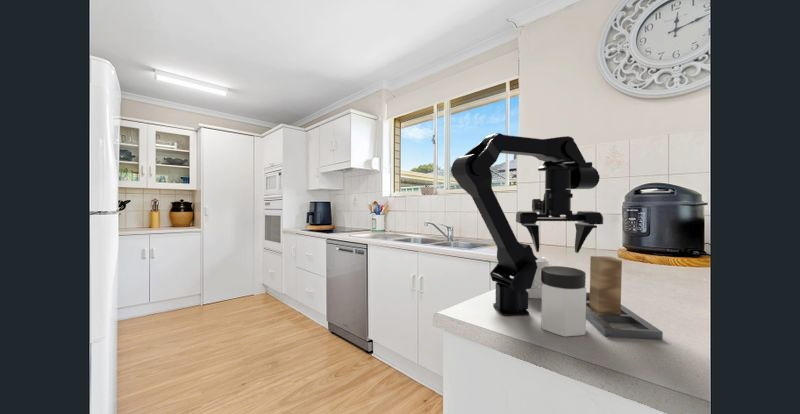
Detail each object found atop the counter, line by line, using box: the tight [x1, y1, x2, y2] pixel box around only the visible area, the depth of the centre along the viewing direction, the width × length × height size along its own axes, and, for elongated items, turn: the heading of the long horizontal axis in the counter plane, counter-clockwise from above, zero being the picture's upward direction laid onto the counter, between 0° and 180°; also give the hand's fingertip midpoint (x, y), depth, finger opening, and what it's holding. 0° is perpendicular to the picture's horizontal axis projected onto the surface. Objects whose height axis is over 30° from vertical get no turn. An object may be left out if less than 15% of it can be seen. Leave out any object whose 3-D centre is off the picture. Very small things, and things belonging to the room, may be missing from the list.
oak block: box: [589, 255, 623, 314], centre depth 72 cm, size 4×4×13 cm
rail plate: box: [586, 291, 664, 341], centre depth 72 cm, size 10×23×2 cm, turn 171°
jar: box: [540, 265, 587, 338], centre depth 65 cm, size 9×8×12 cm
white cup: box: [526, 255, 549, 299], centre depth 86 cm, size 8×8×10 cm
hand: (556, 252), depth 79 cm, fingers open, 9 cm apart
